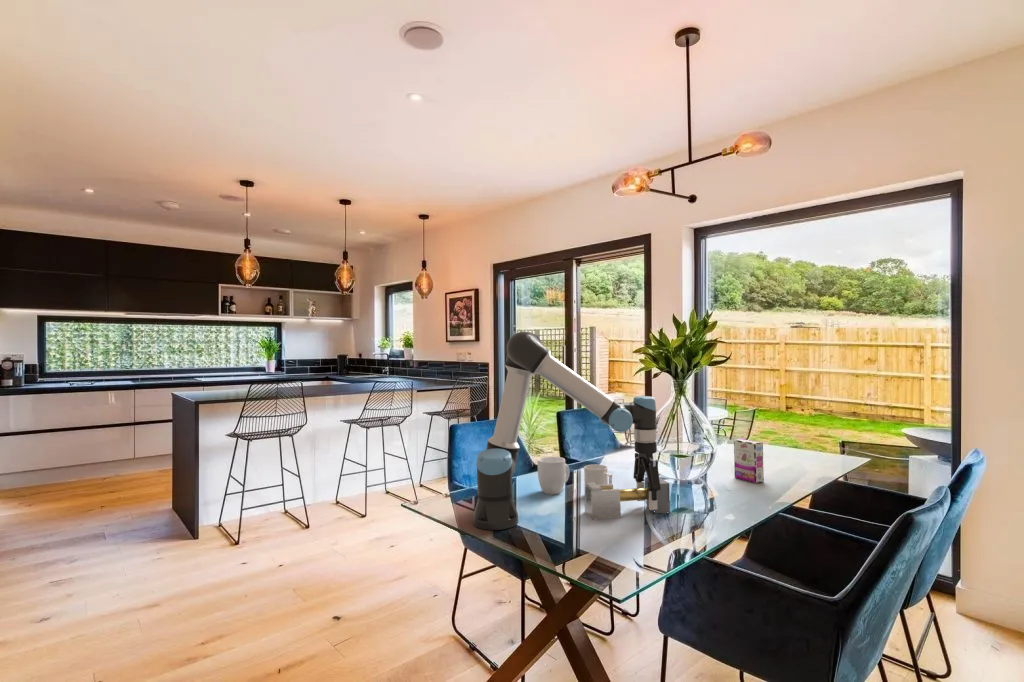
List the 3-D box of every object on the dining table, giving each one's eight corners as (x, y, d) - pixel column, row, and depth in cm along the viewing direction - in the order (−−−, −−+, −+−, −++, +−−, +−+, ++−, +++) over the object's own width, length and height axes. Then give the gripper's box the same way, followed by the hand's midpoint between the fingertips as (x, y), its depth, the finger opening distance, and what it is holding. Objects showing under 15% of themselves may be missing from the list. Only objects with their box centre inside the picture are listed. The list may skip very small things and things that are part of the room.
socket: (656, 514, 184) (656, 484, 184) (646, 506, 192) (646, 478, 192) (670, 512, 185) (669, 483, 185) (659, 505, 193) (659, 477, 193)
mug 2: (579, 495, 207) (579, 467, 207) (595, 491, 213) (594, 463, 213) (603, 502, 198) (602, 472, 198) (619, 497, 204) (618, 468, 204)
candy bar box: (764, 482, 220) (763, 442, 220) (755, 483, 218) (755, 443, 218) (742, 476, 231) (741, 438, 231) (733, 477, 229) (733, 439, 228)
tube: (602, 504, 183) (602, 492, 183) (598, 501, 187) (598, 489, 187) (663, 499, 187) (663, 488, 187) (658, 496, 191) (657, 485, 191)
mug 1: (559, 485, 223) (558, 453, 223) (578, 490, 215) (577, 457, 215) (532, 492, 214) (531, 459, 214) (551, 498, 205) (550, 463, 205)
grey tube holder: (592, 519, 180) (591, 489, 180) (584, 512, 188) (584, 482, 188) (620, 517, 182) (620, 486, 182) (612, 509, 190) (611, 480, 190)
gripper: (670, 446, 177) (671, 513, 177) (642, 434, 199) (643, 495, 199) (649, 447, 176) (650, 515, 176) (623, 435, 198) (624, 496, 198)
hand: (646, 504), depth 188 cm, fingers open, 9 cm apart
